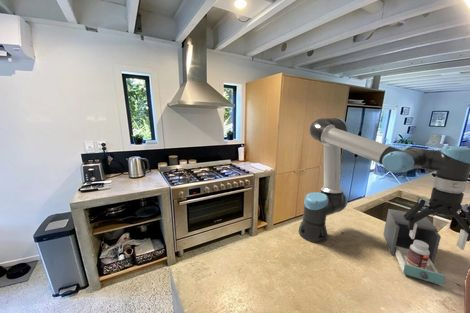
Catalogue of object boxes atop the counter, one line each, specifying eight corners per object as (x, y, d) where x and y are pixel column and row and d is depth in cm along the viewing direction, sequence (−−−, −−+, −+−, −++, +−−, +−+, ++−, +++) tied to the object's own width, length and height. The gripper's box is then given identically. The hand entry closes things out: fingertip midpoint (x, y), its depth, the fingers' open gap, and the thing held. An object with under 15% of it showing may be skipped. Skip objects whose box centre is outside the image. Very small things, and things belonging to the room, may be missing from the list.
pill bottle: (423, 273, 79) (429, 250, 76) (404, 263, 84) (409, 241, 81) (427, 267, 82) (433, 244, 80) (409, 258, 87) (414, 236, 85)
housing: (383, 234, 107) (388, 208, 104) (418, 242, 100) (425, 215, 97) (390, 254, 92) (397, 225, 88) (432, 266, 85) (441, 234, 82)
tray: (393, 249, 94) (395, 241, 93) (425, 257, 88) (428, 249, 87) (404, 275, 78) (406, 266, 78) (444, 288, 73) (447, 278, 72)
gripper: (406, 187, 70) (396, 238, 74) (510, 200, 59) (490, 259, 63) (400, 181, 76) (390, 228, 81) (491, 192, 65) (475, 245, 70)
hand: (434, 242), depth 72 cm, fingers open, 13 cm apart
